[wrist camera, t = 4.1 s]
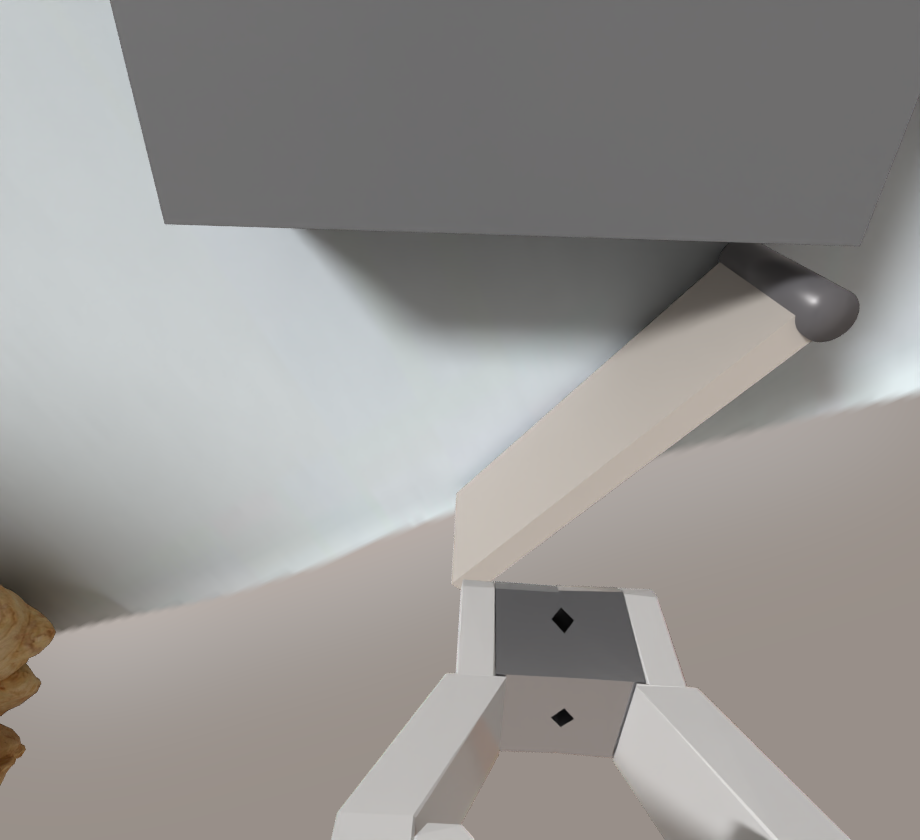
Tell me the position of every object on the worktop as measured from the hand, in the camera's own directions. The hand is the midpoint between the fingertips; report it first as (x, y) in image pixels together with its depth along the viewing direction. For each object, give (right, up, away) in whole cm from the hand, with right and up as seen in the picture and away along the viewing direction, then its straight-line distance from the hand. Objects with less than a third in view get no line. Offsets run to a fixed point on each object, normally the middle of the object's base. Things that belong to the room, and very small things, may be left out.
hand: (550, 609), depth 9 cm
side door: (+3, +4, +9) cm, 11 cm away
